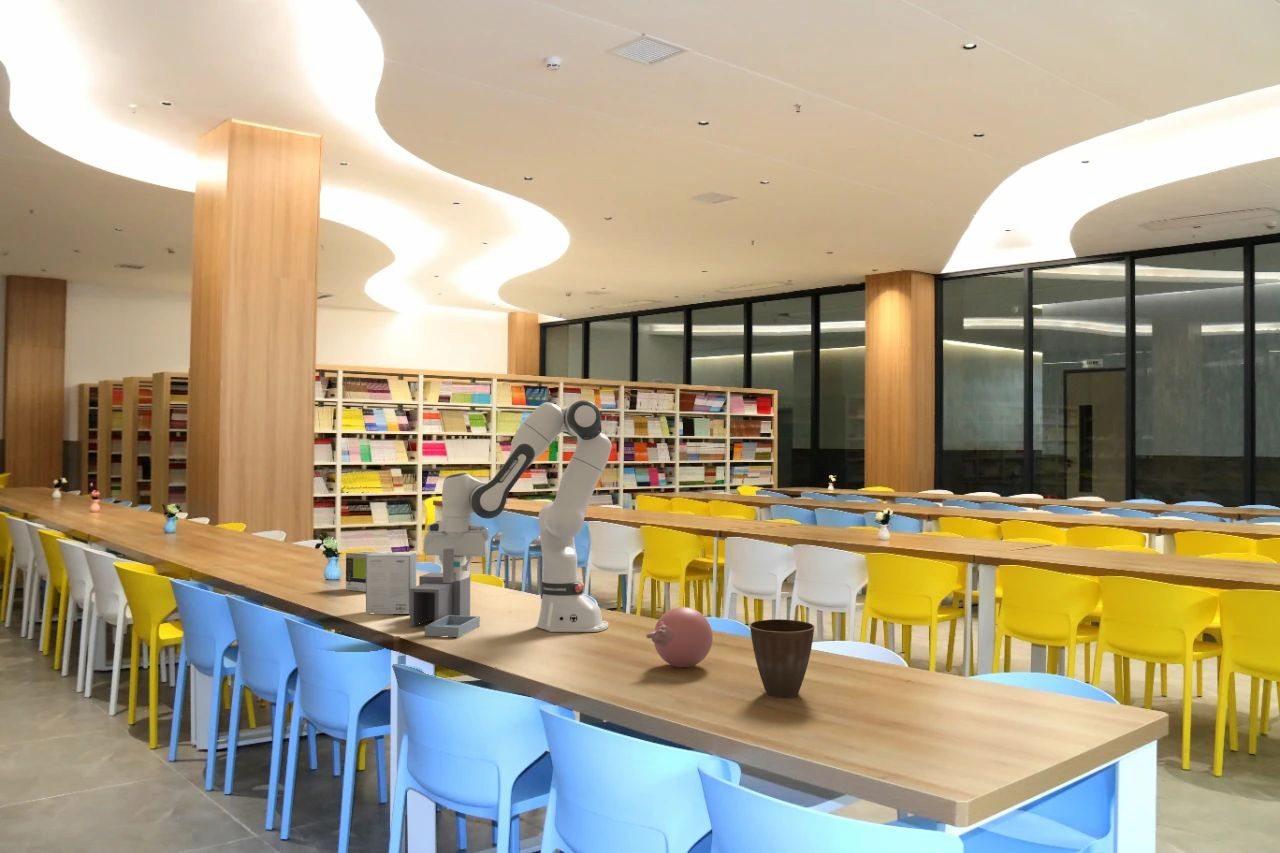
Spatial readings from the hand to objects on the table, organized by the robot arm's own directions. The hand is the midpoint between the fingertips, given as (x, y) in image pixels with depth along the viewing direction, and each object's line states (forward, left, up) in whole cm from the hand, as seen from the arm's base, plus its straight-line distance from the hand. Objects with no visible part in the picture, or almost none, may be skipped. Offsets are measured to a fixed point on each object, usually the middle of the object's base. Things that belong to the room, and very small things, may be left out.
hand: (455, 570), depth 306 cm
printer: (+11, -13, -18) cm, 25 cm away
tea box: (+62, -69, -19) cm, 94 cm away
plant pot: (-102, +57, -19) cm, 118 cm away
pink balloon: (-74, +36, -19) cm, 84 cm away
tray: (0, +2, -18) cm, 18 cm away
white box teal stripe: (0, +1, -3) cm, 3 cm away
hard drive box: (+32, -24, -19) cm, 44 cm away
